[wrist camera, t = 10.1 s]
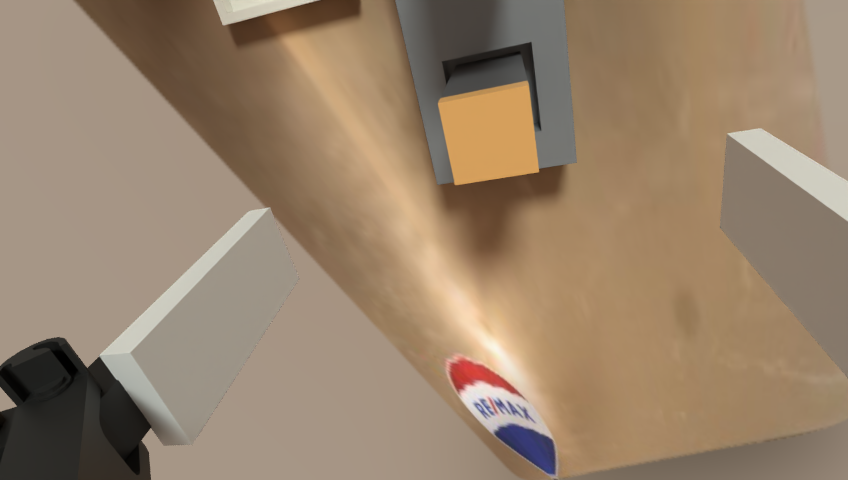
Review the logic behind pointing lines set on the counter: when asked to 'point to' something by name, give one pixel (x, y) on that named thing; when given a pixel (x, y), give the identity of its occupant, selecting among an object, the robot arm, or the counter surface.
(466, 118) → the plug
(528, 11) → the grey socket block
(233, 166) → the counter surface
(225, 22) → the tray
